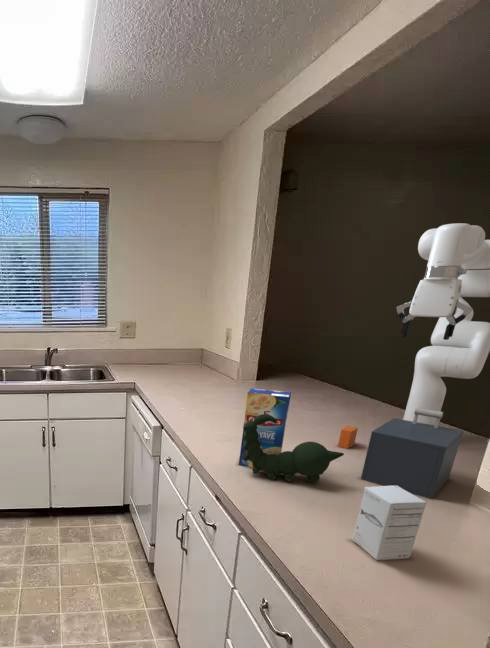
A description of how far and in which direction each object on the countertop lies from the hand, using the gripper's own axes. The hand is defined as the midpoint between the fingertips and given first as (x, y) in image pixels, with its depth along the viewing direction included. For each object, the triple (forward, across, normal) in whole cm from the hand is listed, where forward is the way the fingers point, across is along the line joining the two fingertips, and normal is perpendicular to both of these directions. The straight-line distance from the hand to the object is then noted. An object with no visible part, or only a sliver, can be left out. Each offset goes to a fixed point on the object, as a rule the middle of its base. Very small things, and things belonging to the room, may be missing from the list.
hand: (425, 338), depth 124 cm
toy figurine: (+37, +14, +42) cm, 58 cm away
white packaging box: (+37, -15, +62) cm, 74 cm away
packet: (+36, +14, +1) cm, 39 cm away
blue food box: (+37, +24, +38) cm, 59 cm away
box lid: (+23, -8, +18) cm, 31 cm away
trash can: (+36, -8, +18) cm, 41 cm away
